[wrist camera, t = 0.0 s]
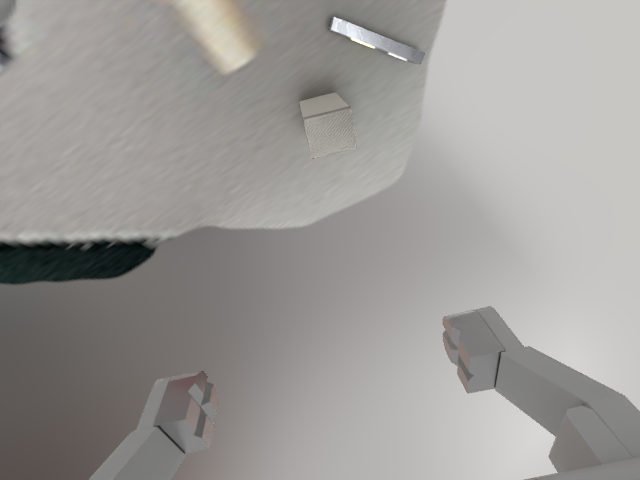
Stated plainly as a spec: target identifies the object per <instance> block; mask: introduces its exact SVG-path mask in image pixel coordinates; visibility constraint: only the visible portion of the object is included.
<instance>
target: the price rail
mask: <svg viewBox="0 0 640 480" xmlns="http://www.w3.org/2000/svg"><path fill="white" fill-rule="evenodd" d="M328 30H329V31H332V32H334V33H337V34H339V35H342V36H345V37H347V38H349V40H351V41H354V42H356V43H359V44H362V45H364V46H367V47H369V48H374V49H378V50H381V51H383V52H385V54H388V55H390V56H393V57H395V58H398V59H400V60H404V61H409V62H411V63H416V64H421V62H422V60H423V57H424V55H425V53H424V52H421V51H419V50H416V49H414V48H411V47H409V46H406V45H404V44H401V43H399V42H396V41H394V40H391V39H389V38H386V37H384V36H381V35H379V34H376V33H374V32H371V31H369V30H366V29H364V28H361V27H359V26H356V25H354V24H351V23H349V22H346V21H344V20H341V19H339V18H336V17H333V18H331V21H330V24H329V28H328Z"/></svg>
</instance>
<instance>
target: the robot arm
mask: <svg viewBox="0 0 640 480" xmlns="http://www.w3.org/2000/svg"><path fill="white" fill-rule="evenodd" d="M443 326H444V328H445V329H446V330H445V331H444V333H443V342H444V346H445V350H446V352H447V355H448V357H449V359H450V360H451V362H452V363H454V364H455V365H457V366H458V370H457V371H458V372H457V374H458V376H459V378H460V380H461V382H462V384H463V386H464V388H465V390H466V392H467V393H473V392H478V391H484V390H489V389H495V390H496V391H497V392H498V393H500V394H501V395H502V396H504V397H505V398H506V399H508V400H509V401H510V402H511V403H513V404H514V405H515V406H517V407H518V408H519V409H521V410H522V411H523V412H525V413H526V414H527V415H528V416H530V417H531V418H532V419H534V420H535V421H536V422H537V423H539V424H540V425H541V426H543V427H544V428H545V429H547V430H548V431H549V432H550V433H552V434H553V435H555V436H556V438H555V441H554V443H553V446H552V448H551V451H550V454H549V458H550V460H551V462H552V464H553V465H554V467H555V468H556V470H557V472H558V473H555V474H550V475H545V476H540V477H535V478H530V479H525V480H640V411H639V410H638V409H637V408H636V407H635V406H634V405H633V404H632V403H631V402H630V401H629V400H628V399H627V398H626V397H625V396H624V395H622V394H620V393H618V392H616V391H615V390H613V389H611V388H609V387H607V386H605V385H603V384H601V383H599V382H597V381H595V380H593V379H591V378H589V377H587V376H586V375H584V374H582V373H580V372H578V371H576V370H574V369H572V368H570V367H568V366H566V365H564V364H562V363H561V362H559V361H557V360H555V359H553V358H551V357H549V356H547V355H545V354H543V353H541V352H539V351H537V350H536V349H533V348H532V347H529V346H528V347H524V346H523V345H522V344H521V342H520V341H519V340H518V338H517V337H516V336H515V335H514V333H513V332H512V331H511V330H510V328H509V327H508V326H507V325H506V323H505V322H504V321H503V319H502V318H501V317H500V316H499V314H498V313H497V312H496V310H495V309H494V308H492V307H491V306H489V307H485V308H480V309H476V310H470V311H466V312H461V313H457V314H453V315H449V316H445V317H444V318H443ZM207 378H208V376H207V374H206V373H205V372H204V371H199V372H194V373H189V374H184V375H178V376H173V377H168V378H163V379H159V380H157V381H156V383H155V384H154V385H153V388H152V390H151V393H150V396H149V398H148V401H147V403H146V406H145V409H144V411H143V414H142V416H141V419H140V422H139V425H138V427H137V429H136V431H133V432H131V433H130V434H129V435H128V436H127V437H126V439H125V440H124V441H123V442H122V443H121V444H120V445H119V446H118V448H117V449H116V450H115V451H114V452H113V453H112V454H111V455H110V456H109V458H108V459H107V460H106V461H105V462H104V463H103V464H102V465H101V466H100V468H99V469H98V470H97V471H96V472H95V473H94V474H93V475H92V477H91V478H90V479H89V480H171V478H172V477H173V475H174V473H175V472H176V470H177V469H178V467H179V465H180V464H181V462H182V460H183V459H184V457H185V454H186V453H191V452H195V451H199V450H203V449H207V448H211V443H212V438H213V432H214V424H213V422H212V418H213V417H214V416H215V414H216V413H217V410H218V404H219V402H218V392H217V389H216V387H215V386H214V384H213V383H210V382H208V381H207Z"/></svg>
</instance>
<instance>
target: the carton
mask: <svg viewBox="0 0 640 480" xmlns="http://www.w3.org/2000/svg"><path fill="white" fill-rule="evenodd" d="M299 103H300V107H301V112H302V116H303V122H304V127H305V131H306V135H307V139H308V143H309V148H310V152H311V156H312V159H315V158H319V157H323V156H328V155H332V154H336V153H340V152H344V151H348V150H352V149H356V148H357V143H356V136H355V130H354V123H353V117H352V110H351V107H350V106H348V105H347V104H346V103H345V102H344V101H343V99H342V98H341V97H340V96H339V95H338V94H337V93H336V92H334V93H330V94H326V95H322V96H318V97H314V98H310V99H306V100H302V101H299Z"/></svg>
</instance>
